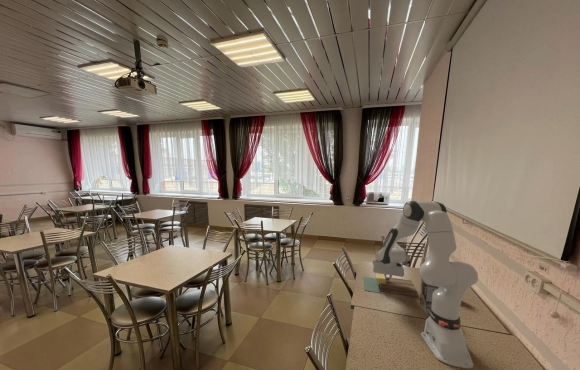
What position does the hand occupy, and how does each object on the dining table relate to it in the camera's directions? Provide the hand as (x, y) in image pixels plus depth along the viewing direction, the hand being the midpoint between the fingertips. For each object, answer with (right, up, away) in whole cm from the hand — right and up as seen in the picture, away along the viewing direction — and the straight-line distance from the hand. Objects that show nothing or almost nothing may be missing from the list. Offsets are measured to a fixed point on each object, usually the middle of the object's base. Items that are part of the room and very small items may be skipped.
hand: (387, 280), depth 154 cm
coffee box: (+14, -7, -23) cm, 28 cm away
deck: (+6, -5, -1) cm, 8 cm away
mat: (-10, -5, +3) cm, 12 cm away
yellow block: (-4, -1, +1) cm, 5 cm away
